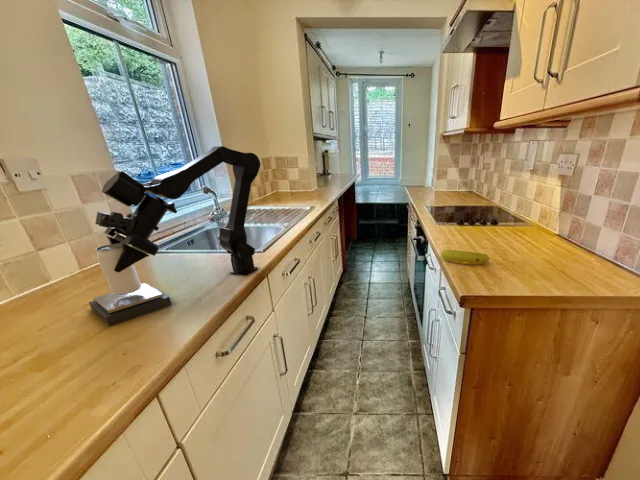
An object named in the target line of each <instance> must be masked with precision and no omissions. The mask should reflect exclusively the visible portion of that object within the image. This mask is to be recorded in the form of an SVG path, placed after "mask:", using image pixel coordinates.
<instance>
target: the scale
mask: <svg viewBox="0 0 640 480" xmlns="http://www.w3.org/2000/svg"><path fill="white" fill-rule="evenodd" d="M148 285H149V284H148ZM149 286H150V287H152V288H154V289H155V290H157V291H159V292H161V293H162V294H163V296H162V297H159V298H156V299H153V300H150V301H146V302H143V303H140V304H137V305H134V306H131V307H128V308H125V309H121V310H118V311H115V312H112V313H108V312H107V311H106V310H105V309H103V308H102V307H101V306H100V305H99V304H98V303H96V302H95V301H94V300H91V301H88V304H89V306H90V308H91V311H92V312H94V313H95V314H96V315H97V316H98V317H99V318H100V319H101V320H102V321H103V322H104V323H106V324H107V326H108V327H111V326H114V325H116V324H120V323H123V322H125V321H128V320H131V319H134V318H137V317H140V316H143V315H146V314H148V313H152V312H155V311H157V310H160V309H163V308H166V307H169V306H172V301H171V298H170V296H169V295H167V294H166V293H165V292H163V291H162V290H160V289H158V288H155V287H153V286H152V285H149Z"/></svg>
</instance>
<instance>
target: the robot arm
mask: <svg viewBox="0 0 640 480" xmlns="http://www.w3.org/2000/svg"><path fill="white" fill-rule="evenodd" d="M222 163H224V164H227V165H230V166H232V173H233V175H234V186H233V193H232V196H231V197H232V198H231V203H230V204H231V205H230V210H229V216H228V222H227V224H226V225H225V227H222V226H220V227H219V235H218V237H217V240H218V241H219V246H220V247H221V248H222V249H223V250H225V251H226V253H228V254H229V255H230V263H231V268H232V270H231V271H230V274H234V275H244V276H246V275H249V274H251V273H253V272H254V271H256V270H258V269H259V267H258V266H255V264H254V263H255V262H254V257H253V256H254V255H255V253H256V252H255V251H256V248H255V247H253V246H252V245H250V244H248V243H247V242H248V236H247V232H246V228H245V224H246V217H247V211H248V205H249V200H250V196H251V195H250V194H251V188H252V184H253V182H254V181H255V179H256V178H257V177H258V174H259V171H260V170H261V160H260V158H259V156H258V155H257V154H255V153H254V152H242V151H239V150H234V149H231V148H228V147H226V146H224V145H223V146H222V145H217V146H216V145H214V146H212V147H211V148H210V149H209V150H208V151H206V152H204V153H203V154H201V155H199V156H197V157H196V158H195V159H193V160H191V161H190V162H188V163H187V164H185V165H183V166H182V167H180V168H178V169H174V170H171V171H169V172H165V173H162V174H159V175H157V176H155V177H154V178H152V179H151V181H148V182H142V183H141V182H139V181H137V179H134V178H133V177H132V176H130V175H129V174H128V173H126V172H125V171H123V170H118V171H117V173H115V174H114V175H113V176H111V177H110V179H107V180H106V182H105V183H104V184H103V187H102V189H101V193H103V194H104V195H106V196H108V197H109V198H111V199H113V200H115V201H117V202H119V203H121V204H122V205H124V206H126V207H131V206H134V207H136V209H135V210H134V211H133V212H132V213H131V212H130V213H127V214H126V215H125V216H124V214H123V213H121V212H116V211H111V212H110V213H107V212H103V211H96V217H95V225H97V226H99V227H103V228H106V229H105V231H103V233H104V234H106V239H107V241H108V242H109V245H110V244H121V247H122V250H123V251H122V253H121V255H120V257H119V260H118V262H117V264H116V266H115V269H114V271H116V272H121V271H122V270H124V269H126V268H127V267H129V266H131V265H132V264H134V265H135V264H137V262H140V261H142V260H143V259H145V258H148V257H150V255H151V256H154V257H155V256H156V255H157V253H158V252H159V247H158V244H156V243H154V242H153V241H151V240H150V239H149V238H150V237H151V235H153V233H154V231H159V229H160V227H159V226H158V225H159V223H160V222H161V221H162V219H163V218H164V216H165V215H166V213H167V212H169V213H174V214H177V213H178V211H177V208H176V205H175V202H172V201H170V202H167V200H165V199H169V200H177V199H180V198H181V197H182V196H183V195H184V194H185V193H186V192H187V191H188V190H189V188H190V187H191V185H192V184H193V183H194V182H195V181H196V180H198V179H199V178H201V177H202V176H204V175H205V174H207V173H208V172H210V171H212V170H213V169H215V168H216V167H218V166H219V165H220V164H222ZM150 194H153V195H157V196H155V197H153V196H151V195H150ZM163 198H165V199H163Z"/></svg>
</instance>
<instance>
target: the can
mask: <svg viewBox="0 0 640 480" xmlns="http://www.w3.org/2000/svg"><path fill="white" fill-rule="evenodd" d="M95 251H96V256H95V257H96V259H97V261H98V264H99V266H100V269H101V271H102V274H103V276H104V278H105V281H106V283H107V286H108V288H109V290H110V293H113V294H115V295H125V294H130V293H133V292H135V291H138V290H139V289H140V288H141V284H142V283H141V280H140V277H139V274H138V271H137V270H136V267H135V263H134V264H132V265H131V266H129V267H127V268H126V269H124V270H122V271H121V272H116V271H114V269H115V266H116V264H117V262H118V260H119V257H120V255H121V253H122V251H123V250H122V247H121V244H110V243H109V244H105V245H102V246H101V245H100V246H98V247H96V248H95Z"/></svg>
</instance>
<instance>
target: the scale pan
mask: <svg viewBox="0 0 640 480" xmlns="http://www.w3.org/2000/svg"><path fill="white" fill-rule="evenodd" d="M150 286H151V285H150ZM150 286H149V284H147V283H141V288H140V289H139V290H138V291H135V292H133V293H130V294H125V295H115V294H113V293H112V292H109V293H106V294H102V295H98V296H94V297H92V300H93V301H95V302H96V303H98V304H99V305H100V306H101V307H102V308H103V309H105V310H106V311H107V312H108V313H112V312H115V311H118V310H121V309H125V308H128V307H131V306H134V305H137V304H140V303H143V302H146V301H150V300H153V299H156V298H159V297H162V296H163V294H162V293H161V292H159V291H157V290H155V289H156V288H155V287H153V286H151V287H150ZM152 287H153V288H152ZM154 288H155V289H154Z"/></svg>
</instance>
